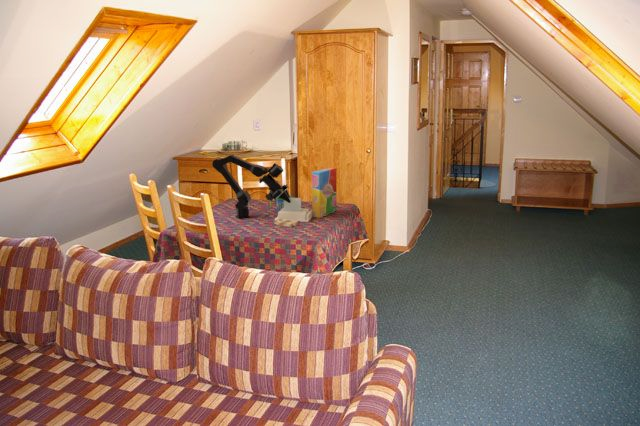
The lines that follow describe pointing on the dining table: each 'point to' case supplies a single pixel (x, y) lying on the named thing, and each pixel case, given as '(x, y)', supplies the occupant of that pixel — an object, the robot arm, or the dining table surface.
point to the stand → (286, 222)
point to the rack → (295, 215)
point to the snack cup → (279, 203)
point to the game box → (324, 192)
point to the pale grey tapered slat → (293, 204)
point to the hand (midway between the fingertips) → (290, 202)
